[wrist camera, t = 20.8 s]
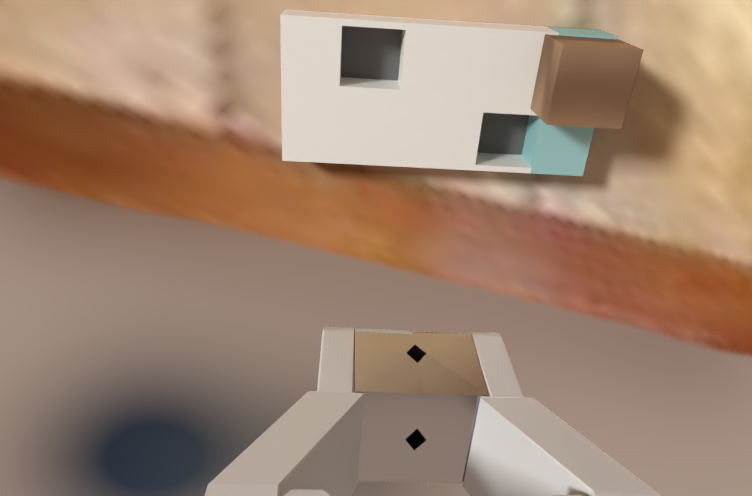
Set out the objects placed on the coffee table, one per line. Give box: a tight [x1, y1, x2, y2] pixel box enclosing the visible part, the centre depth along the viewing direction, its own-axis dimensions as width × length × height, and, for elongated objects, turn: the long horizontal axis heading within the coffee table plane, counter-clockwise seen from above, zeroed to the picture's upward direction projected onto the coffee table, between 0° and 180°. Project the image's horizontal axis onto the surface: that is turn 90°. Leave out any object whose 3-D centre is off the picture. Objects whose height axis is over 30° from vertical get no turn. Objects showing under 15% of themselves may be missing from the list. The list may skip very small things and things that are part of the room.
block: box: [530, 34, 643, 129], centre depth 31 cm, size 4×4×3 cm
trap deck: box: [280, 9, 617, 176], centre depth 34 cm, size 8×18×2 cm, turn 86°
